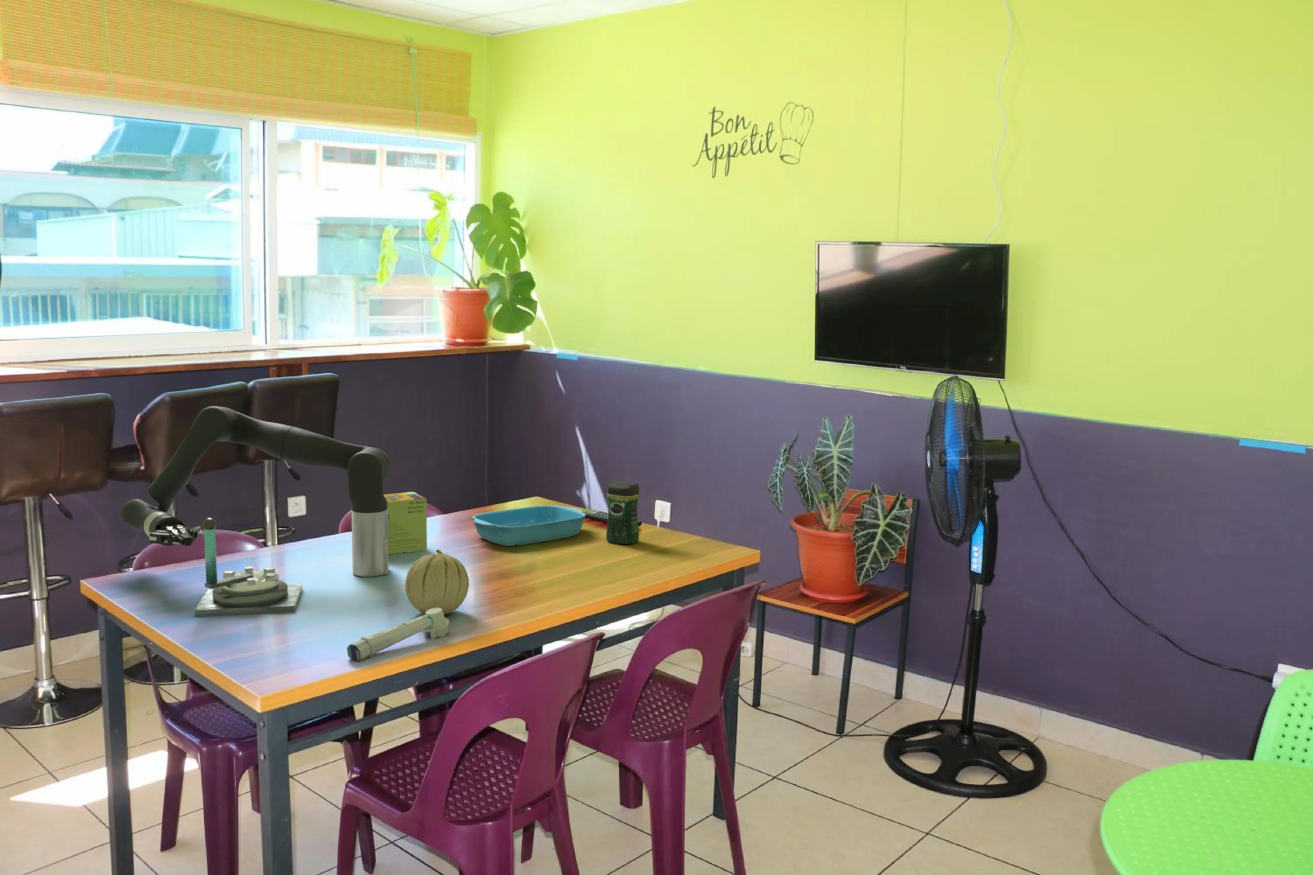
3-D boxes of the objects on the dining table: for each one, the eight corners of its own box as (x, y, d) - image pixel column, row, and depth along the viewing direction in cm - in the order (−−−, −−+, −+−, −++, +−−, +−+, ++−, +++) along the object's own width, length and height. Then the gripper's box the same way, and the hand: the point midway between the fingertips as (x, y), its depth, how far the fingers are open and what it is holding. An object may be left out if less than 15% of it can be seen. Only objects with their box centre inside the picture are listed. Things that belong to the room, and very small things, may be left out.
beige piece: (343, 641, 226) (436, 599, 245) (347, 670, 228) (439, 626, 246) (358, 646, 223) (451, 603, 241) (363, 676, 225) (455, 631, 243)
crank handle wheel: (258, 577, 270) (255, 502, 267) (290, 587, 263) (287, 510, 260) (190, 593, 256) (187, 514, 253) (222, 604, 248) (219, 523, 246)
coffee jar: (642, 541, 330) (644, 481, 328) (629, 546, 324) (630, 485, 321) (615, 536, 335) (616, 477, 332) (601, 541, 328) (602, 481, 326)
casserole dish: (556, 522, 354) (557, 500, 353) (599, 535, 337) (599, 513, 336) (458, 538, 330) (458, 515, 329) (498, 553, 313) (498, 529, 312)
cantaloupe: (412, 626, 247) (411, 563, 245) (400, 608, 260) (399, 547, 258) (475, 619, 253) (475, 557, 251) (461, 601, 266) (460, 542, 264)
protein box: (427, 550, 314) (427, 497, 312) (376, 556, 306) (375, 503, 303) (414, 542, 323) (413, 491, 321) (363, 548, 314) (362, 496, 312)
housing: (302, 589, 273) (302, 576, 272) (294, 611, 256) (294, 597, 255) (209, 593, 268) (208, 579, 268) (194, 616, 251) (194, 601, 250)
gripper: (135, 517, 270) (158, 530, 257) (190, 510, 279) (215, 522, 266) (137, 546, 271) (160, 561, 259) (191, 538, 280) (216, 552, 267)
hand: (188, 541), depth 262 cm, fingers closed
